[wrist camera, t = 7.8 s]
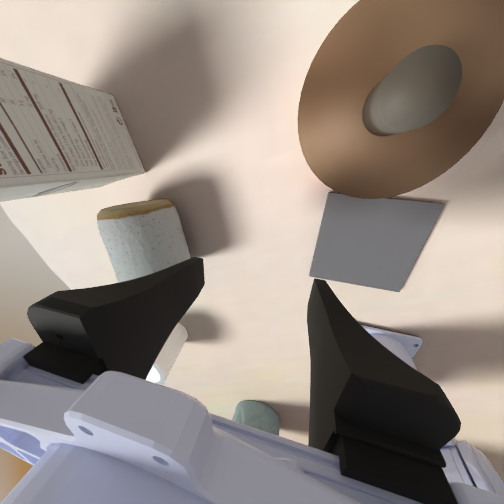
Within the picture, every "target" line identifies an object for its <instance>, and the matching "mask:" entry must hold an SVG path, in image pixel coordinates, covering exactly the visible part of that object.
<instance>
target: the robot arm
mask: <svg viewBox="0 0 504 504" xmlns="http://www.w3.org/2000/svg"><path fill="white" fill-rule="evenodd" d="M204 284H205V282H204V266H203V259H202V258H197V257H193V258H190V259H188V260H185V261H183V262H180V263H178V264H175V265H173V266H170V267H168V268H165V269H163V270H160V271H157V272H155V273H152V274H149V275H146V276H143V277H139V278H136V279H132V280H128V281H124V282H119V283H115V284H110V285H105V286H99V287H92V288H85V289H75V290H66V291H58V292H55V293H53V294H51V295H49V296H47V297H46V298H44V299H42V300H40V301H39V302H37V303H35V304H33V305H31V306H30V307H29V308H28V312H27V315H28V318H29V320H30V322H31V324H32V326H33V327H34V329H35V330H36V332H37V333H38V335H39V336H40V338H41V339H42V341H43V343H41V344H40V345H38V346H37V347H34V346H33V345H32V344H30V343H27V342H24V341H21V340H18V339H15V338H9V339H7V340H6V341H5V342H3V343H1V344H0V448H2V449H4V450H5V451H8V452H9V453H11V454H13V455H15V456H17V457H19V458H21V459H22V460H24V461H26V462H28V463H30V464H32V465H33V467H32V468H31V469H30V470H29V471H28V472H27V474H26V475H25V476H24V477H23V478H22V479H21V481H20V482H19V483H18V484H17V485H16V486H15V487H14V488H13V490H12V491H11V492H10V493H9V494H8V495H7V497H6V498H5V499H4V500H3V501H2V502H1V503H0V504H504V482H503V480H502V479H501V477H500V476H499V474H498V473H497V471H496V470H495V469H494V467H493V466H492V464H491V463H490V461H489V460H488V459H487V457H486V456H485V455H484V454H483V453H482V452H481V451H480V450H478V449H476V448H475V447H473V446H471V444H470V443H469V442H467V441H457V440H456V439H455V438H454V437H455V436H456V435H457V433H458V432H459V431H460V427H461V422H460V419H459V417H458V415H457V413H456V412H455V410H454V408H453V407H452V405H451V403H450V402H449V400H448V398H447V397H446V395H445V393H444V392H443V390H442V389H441V387H440V386H439V385H438V384H436V383H435V382H433V381H432V380H430V379H429V378H427V377H426V376H424V375H423V374H421V373H420V372H418V370H417V368H416V366H415V364H414V362H413V360H412V358H413V357H414V356H415V354H416V353H417V351H418V350H419V348H420V347H421V345H422V344H423V341H422V339H421V338H419V337H415V336H410V335H406V334H401V333H396V332H391V331H387V330H382V329H377V328H373V327H368V326H363V325H360V324H359V323H358V322H357V321H356V320H355V319H354V318H353V317H352V315H351V314H350V313H349V312H348V311H347V310H346V308H345V307H344V306H343V305H342V303H341V302H340V301H339V300H338V298H337V297H336V295H335V294H334V293H333V291H332V290H331V288H330V287H329V285H328V284H327V282H326V281H325V280H320V279H315V278H314V282H313V286H312V290H311V294H310V298H309V302H308V311H307V323H308V335H309V345H310V358H311V385H310V421H309V445H308V446H307V445H304V444H301V443H298V442H295V441H292V440H289V439H286V438H283V437H280V436H277V435H274V434H271V433H268V432H265V431H262V430H259V429H256V428H253V427H250V426H247V425H244V424H241V423H238V422H235V421H232V420H229V419H226V418H223V417H220V416H217V415H214V414H211V413H209V412H208V410H207V408H206V407H205V406H204V405H203V404H202V403H201V402H199V401H198V400H197V399H196V398H194V397H192V396H190V395H188V394H185V393H183V392H181V391H178V390H175V389H172V388H169V387H165V386H162V385H159V384H156V383H153V382H150V381H147V380H146V378H147V376H148V374H149V372H150V370H151V368H152V366H153V364H154V362H155V360H156V358H157V357H158V355H159V353H160V351H161V349H162V348H163V346H164V344H165V342H166V341H167V339H168V337H169V336H170V334H171V332H172V331H173V329H174V328H175V326H176V325H177V323H178V322H179V321H180V319H181V318H182V317H183V315H184V314H185V313H186V311H187V310H188V309H189V307H190V306H191V305H192V303H193V302H194V301H195V299H196V298H197V297H198V295H199V293H200V292H201V290H202V288H203V286H204Z"/></svg>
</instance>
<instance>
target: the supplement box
mask: <svg viewBox="0 0 504 504" xmlns="http://www.w3.org/2000/svg"><path fill="white" fill-rule="evenodd" d="M144 173H145V171H144V168H143V165H142V163H141V160H140V158H139V156H138V153H137V150H136V148H135V146H134V143H133V141H132V138H131V136H130V134H129V131H128V129H127V126H126V124H125V122H124V119H123V117H122V114H121V112H120V110H119V107H118V105H117V103H116V101H115V98H114V96H113V95H111V94H108V93H105V92H102V91H98V90H96V89H93V88H90V87H87V86H83V85H80V84H77V83H74V82H71V81H68V80H65V79H62V78H59V77H56V76H53V75H50V74H47V73H44V72H41V71H38V70H35V69H32V68H29V67H26V66H23V65H20V64H17V63H13V62H10V61H7V60H4V59H2V58H0V202H2V201H8V200H15V199H22V198H29V197H36V196H43V195H50V194H57V193H64V192H70V191H77V190H84V189H91V188H97V187H101V186H104V185H106V184H109V183H112V182H115V181H118V180H121V179H125V178H128V177H132V176H135V175H139V174H144Z"/></svg>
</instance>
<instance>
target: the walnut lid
mask: <svg viewBox="0 0 504 504" xmlns="http://www.w3.org/2000/svg"><path fill="white" fill-rule="evenodd" d="M503 100H504V0H360V1H358V2H357V3H356V4H355V5H354V6H353V7H352V8H351V9H350V10H349V11H348V12H347V13H346V14H345V15H344V16H343V17H342V18H341V19H340V20H339V21H338V23H337V24H336V25H335V26H334V28H333V29H332V30H331V32H330V33H329V34H328V36H327V37H326V39H325V40H324V42H323V43H322V45H321V46H320V48H319V50H318V52H317V54H316V56H315V58H314V59H313V61H312V63H311V66H310V68H309V71H308V73H307V76H306V78H305V82H304V85H303V88H302V92H301V97H300V102H299V110H298V133H299V140H300V145H301V148H302V152H303V155H304V157H305V159H306V161H307V163H308V165H309V167H310V168H311V170H312V171H313V173H314V174H315V175H316V176H317V177H318V179H320V180H321V181H322V182H323V183H324V184H325V185H327V186H328V187H330V188H331V189H333V190H334V191H337V192H339V193H341V194H343V195H347V196H350V197H355V198H361V199H379V198H387V197H392V196H397V195H400V194H403V193H406V192H409V191H412V190H414V189H416V188H419V187H421V186H423V185H425V184H426V183H428V182H430V181H432V180H434V179H435V178H437V177H438V176H440V175H441V174H443V173H444V172H446V171H447V170H448V169H449V168H451V167H452V166H453V165H454V164H456V163H457V162H458V161H459V160H460V159H461V158H462V157H463V156H464V155H465V154H466V153H467V152H469V151H470V149H471V148H472V147H473V146H474V145H475V144H476V143H477V141H478V140H479V139H480V138H481V137H482V135H483V134H484V132H485V131H486V130H487V128H488V127H489V125H490V124H491V123H492V121H493V119H494V117H495V116H496V114H497V112H498V111H499V109H500V107H501V105H502V102H503Z"/></svg>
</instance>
